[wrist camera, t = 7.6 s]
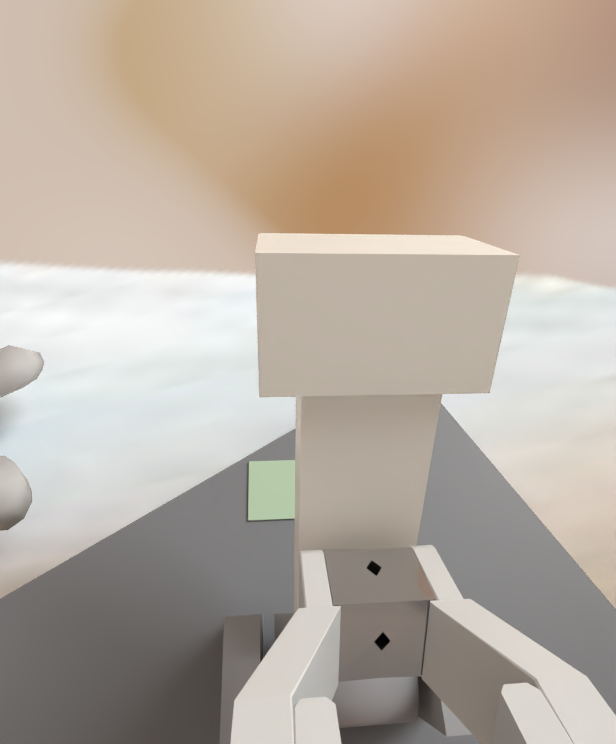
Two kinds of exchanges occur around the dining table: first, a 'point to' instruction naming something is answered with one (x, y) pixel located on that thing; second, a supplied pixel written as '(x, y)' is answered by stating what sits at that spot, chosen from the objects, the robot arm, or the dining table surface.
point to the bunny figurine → (3, 477)
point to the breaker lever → (372, 389)
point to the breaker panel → (264, 605)
